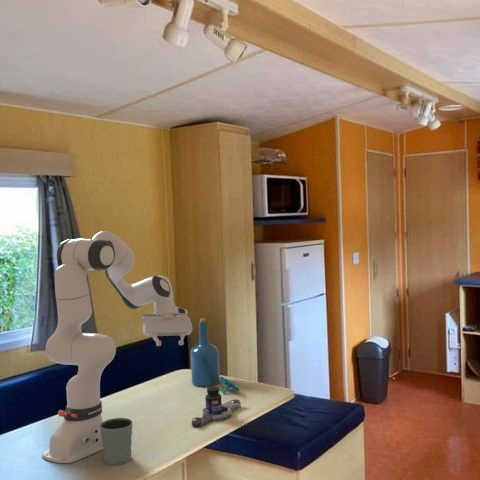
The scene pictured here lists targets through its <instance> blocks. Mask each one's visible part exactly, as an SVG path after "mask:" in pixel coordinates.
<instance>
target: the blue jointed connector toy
mask: <svg viewBox="0 0 480 480" xmlns="http://www.w3.org/2000/svg"><path fill="white" fill-rule="evenodd" d="M220 381H221V387H220V388H219V392H221V393H222V394H223V395H225V394H226V392H227V391H228V389H230V388H231V389H232V390H233V391H236V392H240V389H239V387H238V386H236V385H235V383H233V382H232V381H230V380H229V379H227V378H226V377H223V376H220ZM223 389H224V390H223Z"/></svg>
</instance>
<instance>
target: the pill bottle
mask: <svg viewBox="0 0 480 480" xmlns="http://www.w3.org/2000/svg"><path fill="white" fill-rule="evenodd" d="M206 393H207V394H206V395H205V397H204V399H205V408H206V413H210V414H222V413H223V412H222V404H223V403H222V395H221V393H220V388H219V387H217V386H209V387H208V388H207V387H206Z"/></svg>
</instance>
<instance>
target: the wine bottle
mask: <svg viewBox="0 0 480 480" xmlns="http://www.w3.org/2000/svg"><path fill="white" fill-rule="evenodd" d="M208 329H209V326H208V322H207V319H206V318H203V317H202V318H200V319H199V322H198V333H199V334H198V336H199V337H198V339H199V342H198V343H196V344H194V345H193V346H192V347H191V348H190V368H191V370H190V371H191V372H190V373H191V384H192V385H194V386H196V387H201V388H203V387H204V388H207V387H214V386H216V385H218V384H219V383H220V382H221V379H220V377H221V373H220V352H219V349H218V348H217V346H215V345H214V344H211V343H210V341H209V340H210V339H209V330H208Z"/></svg>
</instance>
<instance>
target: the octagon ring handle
mask: <svg viewBox="0 0 480 480" xmlns="http://www.w3.org/2000/svg"><path fill="white" fill-rule="evenodd" d="M241 406H242V405H241V401H240V399H238V398H237V399H236V398H235V399H231V400H229V401H226V402H225V403H222V414H210V413H206V407H205V408H203V409H202V416H201V417H197V416H196V417H193V418H191V426H192V428H195V429H198V428H202V427H205V426H207V425H209V424H211V423H213V422H214V423H215V422H224V421H227V420H229V419H231V418H232V413H233V412H235V411H237V410H239V409H241V408H242V407H241Z"/></svg>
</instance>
